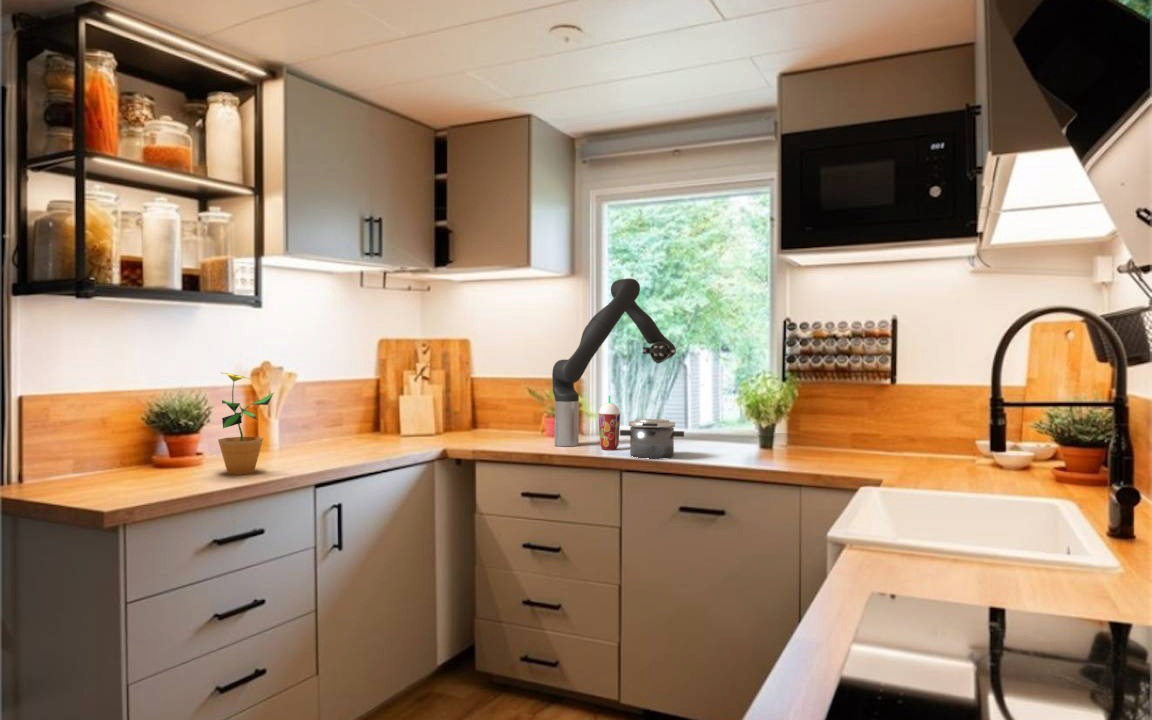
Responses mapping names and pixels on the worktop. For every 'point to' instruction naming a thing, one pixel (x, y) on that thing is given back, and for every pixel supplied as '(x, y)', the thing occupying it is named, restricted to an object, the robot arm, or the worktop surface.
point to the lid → (651, 423)
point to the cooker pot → (652, 441)
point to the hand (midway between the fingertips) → (657, 350)
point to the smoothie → (609, 426)
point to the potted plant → (240, 439)
